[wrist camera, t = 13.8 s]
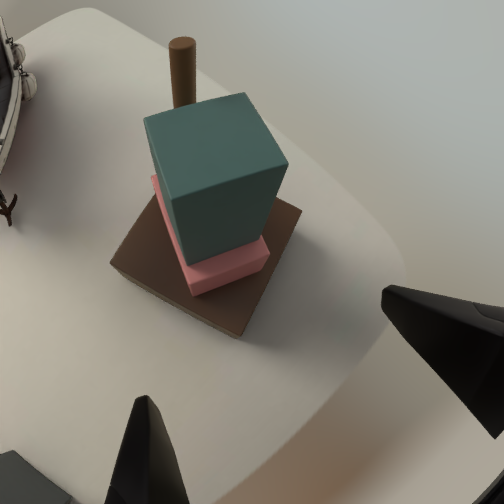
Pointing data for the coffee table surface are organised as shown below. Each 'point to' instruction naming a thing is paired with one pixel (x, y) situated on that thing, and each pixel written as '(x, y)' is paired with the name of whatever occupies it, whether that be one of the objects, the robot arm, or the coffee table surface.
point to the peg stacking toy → (213, 177)
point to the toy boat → (11, 101)
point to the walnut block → (172, 277)
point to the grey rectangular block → (26, 483)
